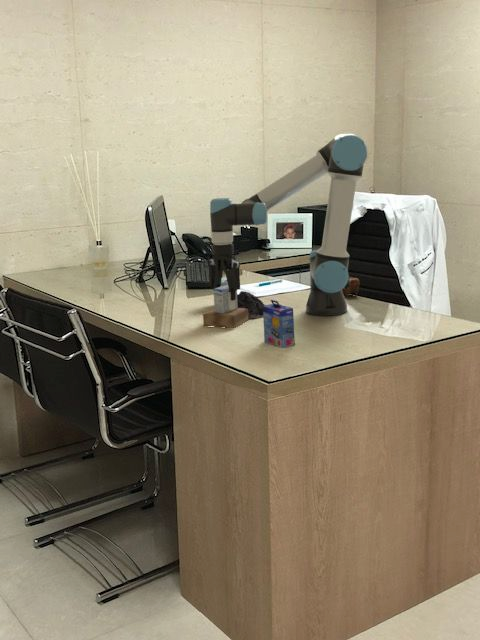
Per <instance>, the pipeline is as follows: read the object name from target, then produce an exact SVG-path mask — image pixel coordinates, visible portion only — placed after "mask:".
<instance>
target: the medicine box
mask: <svg viewBox="0 0 480 640" xmlns="http://www.w3.org/2000/svg"><path fill="white" fill-rule="evenodd" d="M232 288H233V287H232ZM228 291H229V287H228V285H225V286H222V287H218V288H215V289H213V303H214V304H213V305H214V306H213V309H214V311H215V312H216V313H222V314H224V313H227V312H230V311H233V310H236V309H238V306H237V294H238V290H236V300H235V309H232V310H228Z"/></svg>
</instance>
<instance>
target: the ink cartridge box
mask: <svg viewBox="0 0 480 640" xmlns="http://www.w3.org/2000/svg"><path fill="white" fill-rule="evenodd" d="M270 302H271V304H270V303H269V304H265V305H264V306H263V316H262V317H263V334H264V335H263V338H264V339H263V340H264V342H265V343H267V344H270V345H273V346H276V347H279V348H280V349H283V348H287V347H290V346H295V345H296V342H295V341H296V339H295V338H296V337H295V322H294V321H295V320H294V308H293V307H291V306H287V305H282V304H280V302H279V301H277V300H274V299H270Z"/></svg>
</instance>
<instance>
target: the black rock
mask: <svg viewBox="0 0 480 640" xmlns="http://www.w3.org/2000/svg"><path fill="white" fill-rule="evenodd" d="M264 305H266V304H265V303H264V302H263V301H262V300H261V298H260V299H259V298H258V297H257V296H256V295H254V294H252V293H251V292H249V291H244V290H242V291H240V292H239V293H237V306H238V308H246V309H248V319H261V318H262V317H263V306H264Z"/></svg>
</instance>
